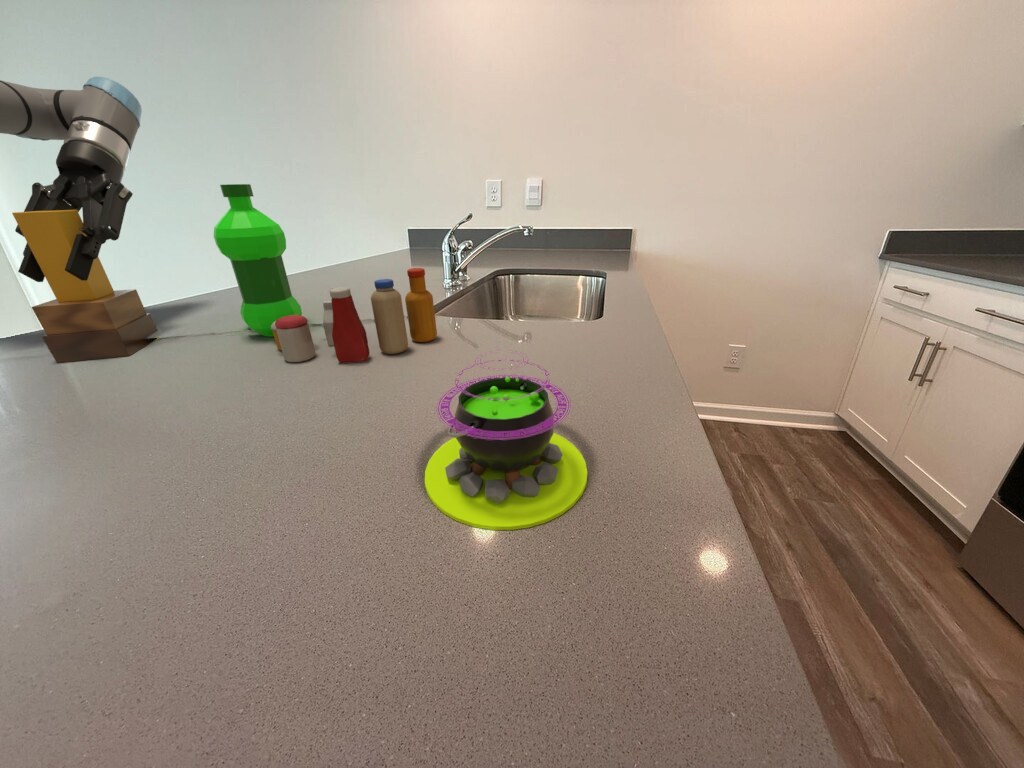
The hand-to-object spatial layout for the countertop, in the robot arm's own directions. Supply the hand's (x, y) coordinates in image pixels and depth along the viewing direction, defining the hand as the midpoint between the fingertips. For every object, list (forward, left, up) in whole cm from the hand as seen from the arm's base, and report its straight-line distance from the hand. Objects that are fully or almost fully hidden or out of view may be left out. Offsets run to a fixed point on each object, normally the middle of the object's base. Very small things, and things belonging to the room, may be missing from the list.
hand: (53, 275), depth 61 cm
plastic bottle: (+27, +5, -13) cm, 30 cm away
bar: (+1, +4, -4) cm, 6 cm away
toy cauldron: (+59, -47, -13) cm, 77 cm away
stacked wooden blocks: (+1, +4, -13) cm, 14 cm away
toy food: (+42, -9, -13) cm, 45 cm away
